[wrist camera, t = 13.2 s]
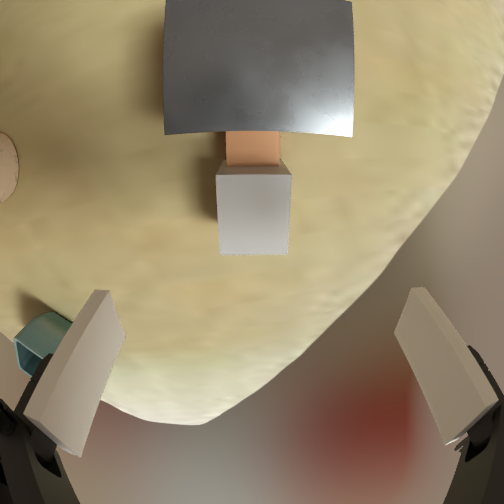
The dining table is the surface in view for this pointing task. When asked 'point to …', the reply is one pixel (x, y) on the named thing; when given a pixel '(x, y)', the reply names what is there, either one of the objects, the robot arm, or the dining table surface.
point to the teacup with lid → (7, 167)
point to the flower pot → (39, 340)
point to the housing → (258, 66)
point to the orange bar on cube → (253, 195)
